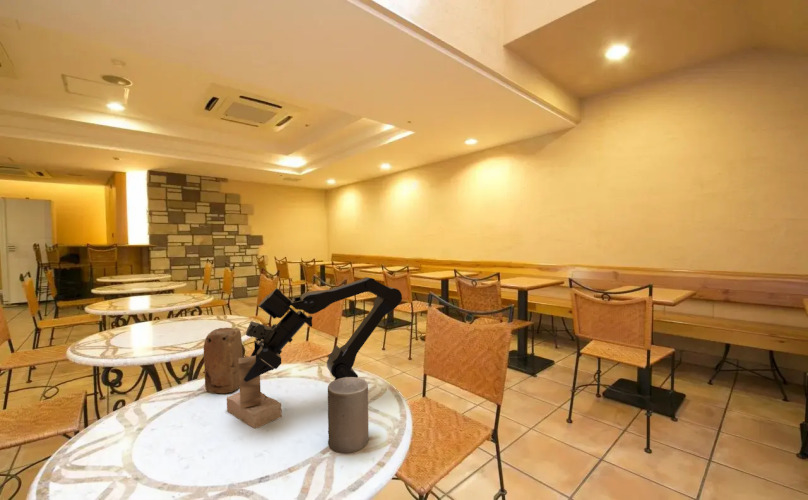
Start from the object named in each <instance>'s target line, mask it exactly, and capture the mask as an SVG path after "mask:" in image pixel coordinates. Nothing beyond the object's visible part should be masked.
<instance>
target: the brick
mask: <svg viewBox="0 0 808 500" xmlns="http://www.w3.org/2000/svg"><path fill="white" fill-rule="evenodd" d="M226 409H227V410H226V411H227V412H228V413H229V414H232V416H234V417H235V418H237V419H239V420H240V421H242V422H244V423H245V424H247V425H248V426H249V427H252V428H253V429H256V428H260V427H262V426H264V425H266V424H268V423H271V422H273V421H277V420H278V419H280V418H282V402H279V401H278V400H277V399H274V398H272V397H269V396H268V395H266V394H265V393H263V392H262V391H261V404H259V405H255V406H250V407H246V408H241V406H240V391H238V392H235V393H233V394H232V395H230V396H226Z"/></svg>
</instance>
